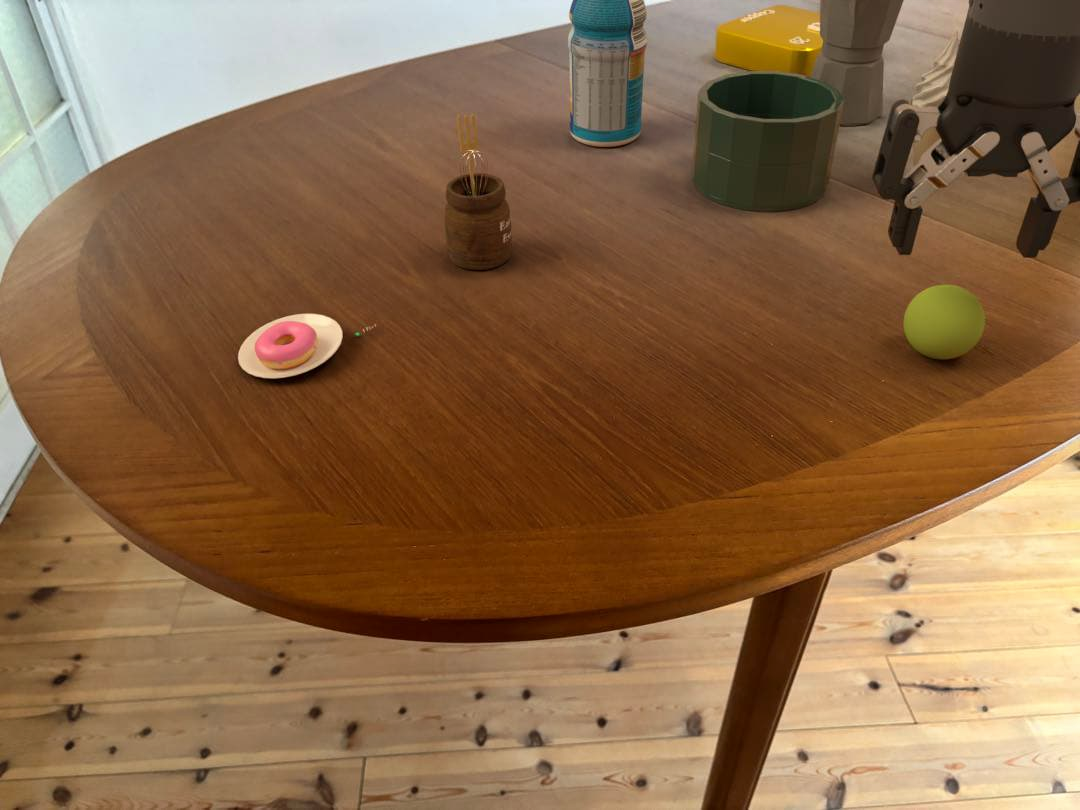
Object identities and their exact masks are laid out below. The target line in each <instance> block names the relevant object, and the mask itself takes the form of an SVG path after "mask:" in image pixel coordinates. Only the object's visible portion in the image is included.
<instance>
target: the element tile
mask: <svg viewBox="0 0 1080 810" xmlns="http://www.w3.org/2000/svg"><path fill="white" fill-rule="evenodd" d="M822 44H823V39H822V38H821V36H820V12H817V11H813V10H808V9H804V8H800V7H796V6H792V5H791V6H790V5H786V4H776V5H771V6H769V7H766V8H763V9H760V10H757V11H754V12H751V13H749V14H746V15H743V16H740V17H737V18H735V19H732V20H729V21H727V22H723V23H721V24H718V26H717V27H716V33H715V44H714V53H713V54H714V55H713V56H714V59H715V61H717V62H719V63H721V64H725V65H728V66H732V67H735V68H738V69H743V70H745V71H778V72H785V73H793V74H800V75H804V76H807V77H811V74H812V71H813V68H814V65H815V62H816V59H817V56H818V55H819V54H820V53H821V50H822Z"/></svg>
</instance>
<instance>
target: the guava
mask: <svg viewBox="0 0 1080 810" xmlns="http://www.w3.org/2000/svg"><path fill="white" fill-rule="evenodd" d="M985 326H986V317H985V311H984V308H983V306H982V304H981V303H980V301H979V300H978V298H977V297H976V296H975V294H973V293H972V292H970V291H969V290H967V289H966V288H964V287H961V286H958V285H955V284H938V285H934V286H930V287H927V288H926V289H924V290H922V291H920V292H919V293H918V294H916V295H915V296H914V297H913V298H912V300H910V302H909V304H908V305H907V307H906V309H905V312H904V316H903V332H904V335H905V338H906V339H907V341H908V343H909V344H910V346H911V347H912V348H913V349H914V350H916V351H917V352H918V353H919V354H921V355H923V356H925V357H927V358H930V359H935V360H951V359H955V358H958V357H961V356H964V355H965V354H966V353H968V352H969V351H971V350H972V349H973V348H974V347H975V346H976V345H977V344H978V343H979V341H980V339H981V338H982V335H983V333H984V330H985Z"/></svg>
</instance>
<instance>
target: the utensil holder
mask: <svg viewBox="0 0 1080 810" xmlns="http://www.w3.org/2000/svg"><path fill="white" fill-rule="evenodd" d="M463 119H464V129H465V140H466V141H464V135H463V127H462V118H461V116H460V115H457V117H456V121H457V130H458V131H457V132H458V140H459V141H458V142H459V149H460V152H461V154H463V155H462V157H461V159H460V162H459V167H460V168H459V171H460V172H459V174H460V175H458V176H457V177H454V178H452V179H451V180H449V182H448V183H447V184H446V189H445V199H446V202H447V203H446V205H445V207H444V215H443V216H444V232H445V239H446V248H447V252H448V256H449V259H450V261H451V262H452V263H453V264H454V265H456V266H457V267H459V268H461V269H464V270H470V271H486V270H492V269H494V268H498V267H500V266H502V265H503V264H505V263H506V262H507V261H508V260H509V259H510V257H511V255H512V252H513V251H512V249H513V234H512V217H511V209H510V205H509V203H508V201H507V200H506V196H507V195H506V194H507V192H506V188H505V183H504V181H503V180H502V179H501V178H500V177H498V176H496V175H493V174H491V173H490V174H489V173H486V172H484V171H483V170H484V169H486V168H487V170H489V165H488V164H489V163H488V158H487V156H486V155H485V154H484V152H482V151H481V150H480V149H479V144H478V136H477V135H478V134H477V125H476V116H475V114H471V115H470V121H471V130H472V139H473V140H472V141H471V136H470V126H469V125H470V124H469V116H468V115H467V114H465V115H464V116H463ZM479 153H480V154H479ZM475 154H477V155H478V156H479V157H480V159H481V172H475V171H474V169H475V170H477V164H476V162H474V163H473V159H474V161H476V157H475ZM465 156H467V159H466V163H465V166H467V164H468V167H469V168H468V169H469V173H465V168H464V165H462V161H463V159H464V157H465ZM483 156H484V157H485V159H486V165H485V162H484V160H483ZM473 164H474V165H473ZM474 166H475V167H474ZM486 166H487V167H486ZM462 169H463V170H462ZM462 171H463V174H462ZM474 172H475V173H474ZM483 172H484V173H483Z"/></svg>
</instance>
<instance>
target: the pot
mask: <svg viewBox="0 0 1080 810" xmlns="http://www.w3.org/2000/svg"><path fill="white" fill-rule="evenodd" d="M843 103H844V100H843V98H842V96H841V94H840V92H839V90H837V89H836V88H834V87H832V86H831V85H829V84H827V83H826V82H824V81H821V80H818V79H814V78H811V77H807V76H804V75H800V74H793V73H785V72H778V71H749V70H747V71H741V72H735V73H727V74H724V75H721V76H718V77H715V78H713V79H710V80H708V81H706V82H705V83H704V84H703V85H702V86H701V87H700V88H699V89H698V93H697V105H696V116H695V117H696V118H695V130H694V141H693V152H692V153H693V154H692V164H691V165H692V167H691V173H692V175H691V176H692V178H691V182H692V184H693V187H694V188H695V189H696V190H697V191H698V193H699V194H701V195H702V196H703V197H705V198H707V199H708V200H710V201H713V202H715V203H717V204H720V205H722V206H726V207H729V208H733V209H737V210H744V211H750V212H767V213H768V212H785V211H792V210H796V209H801V208H804V207H807V206H810V205H812V204H814V203H815V202H817V201H819V200H820V199H821V198H822V197H824V195H825V194H826V191H827V188H828V185H829V184H830V178H831V173H832V168H833V162H834V157H835V151H836V146H837V142H838V141H837V140H838V135H839V130H840V126H839V125H840V120H841V114H842V109H843Z"/></svg>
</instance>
